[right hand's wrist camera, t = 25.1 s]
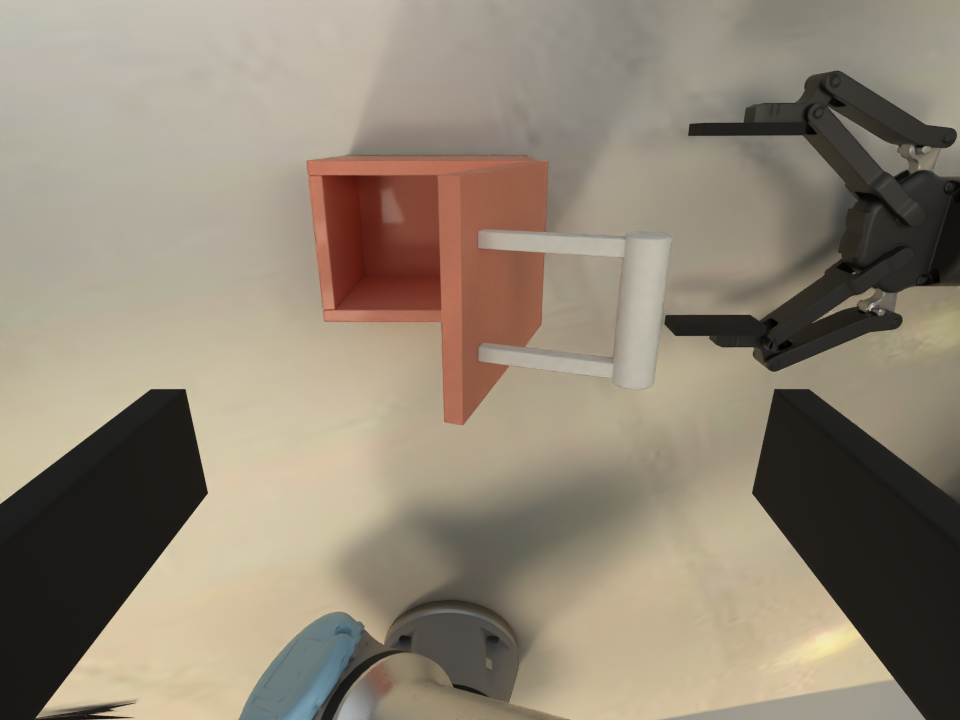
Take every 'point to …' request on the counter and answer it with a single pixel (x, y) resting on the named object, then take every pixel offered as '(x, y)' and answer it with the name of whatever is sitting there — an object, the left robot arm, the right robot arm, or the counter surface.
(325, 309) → the chest
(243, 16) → the counter surface
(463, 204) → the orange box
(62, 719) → the feather
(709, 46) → the counter surface
